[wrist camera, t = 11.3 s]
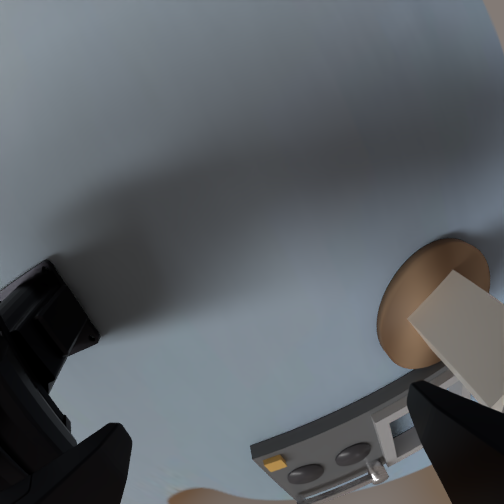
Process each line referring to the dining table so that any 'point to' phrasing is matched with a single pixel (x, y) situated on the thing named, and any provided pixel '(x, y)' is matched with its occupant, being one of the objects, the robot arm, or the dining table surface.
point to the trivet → (423, 296)
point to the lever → (350, 484)
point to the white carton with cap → (466, 336)
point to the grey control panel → (348, 438)
